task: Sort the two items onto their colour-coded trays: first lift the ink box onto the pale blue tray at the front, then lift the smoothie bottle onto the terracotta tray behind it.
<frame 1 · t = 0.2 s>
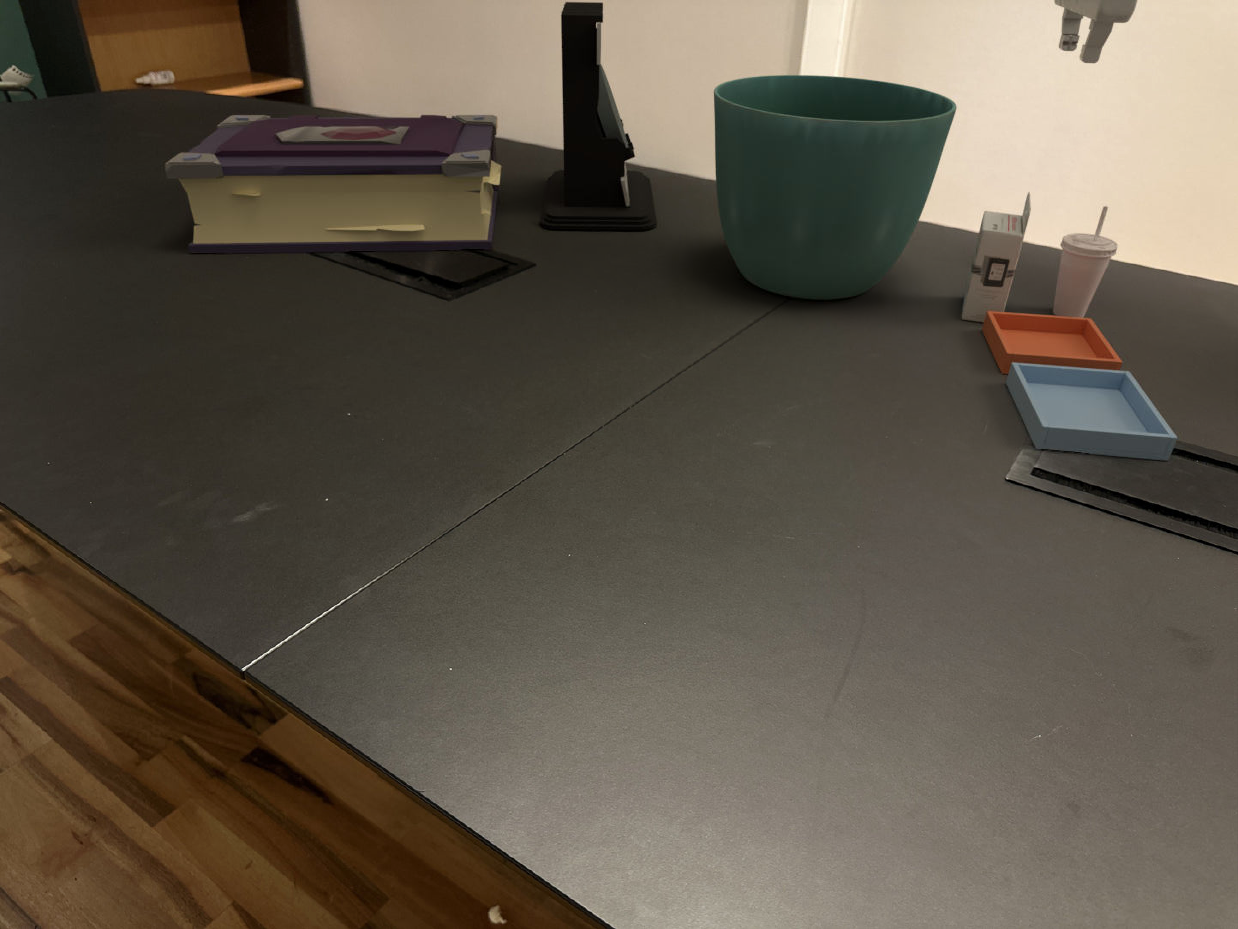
hand: (1076, 56, 108), 29 cm above the table, tool pointing down, fingers open, 8 cm apart
flower pot: (808, 278, 126), on the table
blue tray: (1081, 419, 93), on the table
smoothie: (1067, 315, 116), on the table
ink box: (981, 312, 117), on the table
award: (598, 204, 155), on the table
terracotta tray: (1044, 355, 106), on the table
book: (362, 219, 146), on the table
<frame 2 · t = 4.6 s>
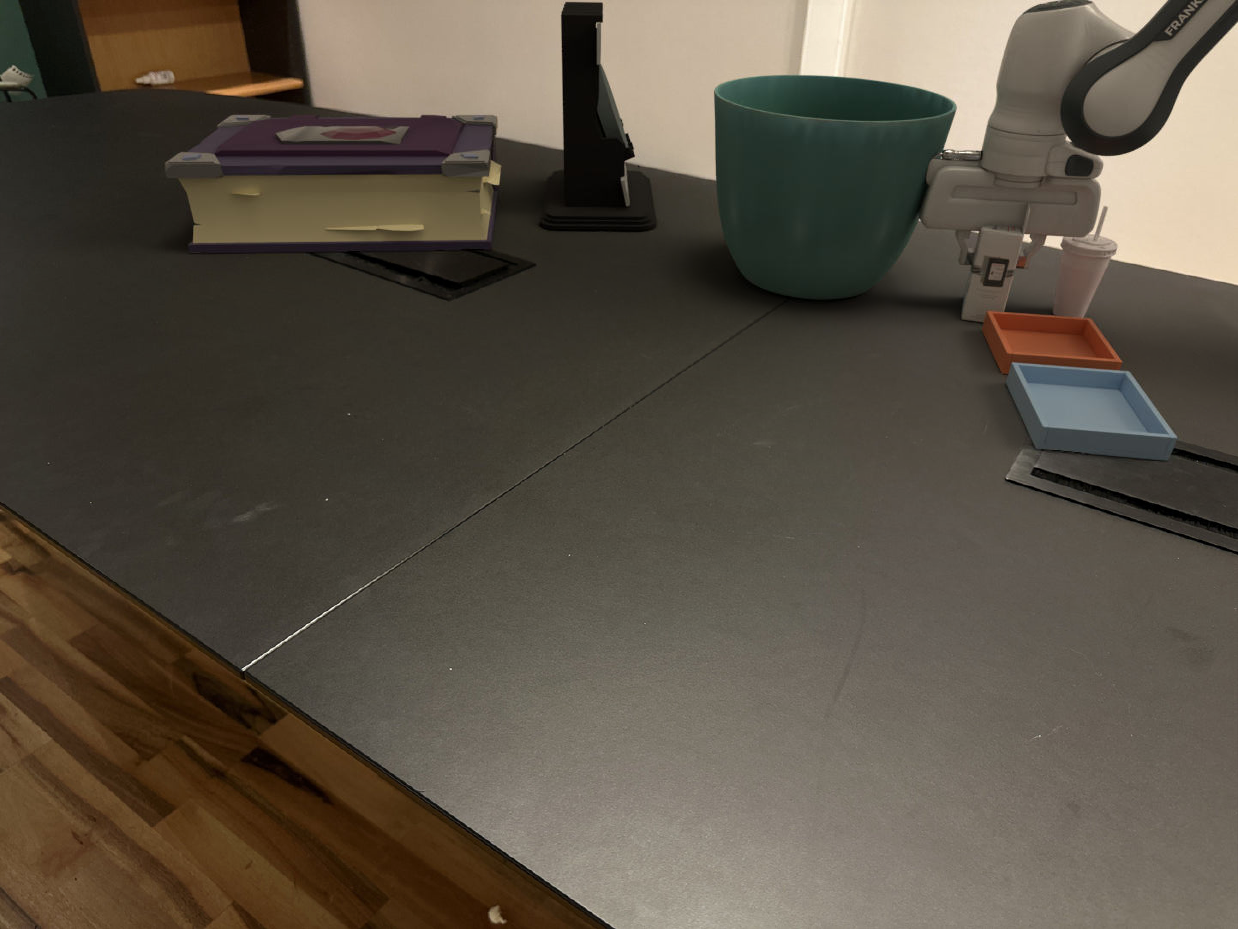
hand: (992, 265, 113), 6 cm above the table, tool pointing down, fingers closed on ink box, 5 cm apart
ink box: (980, 312, 117), on the table, touching gripper
everything else where it was.
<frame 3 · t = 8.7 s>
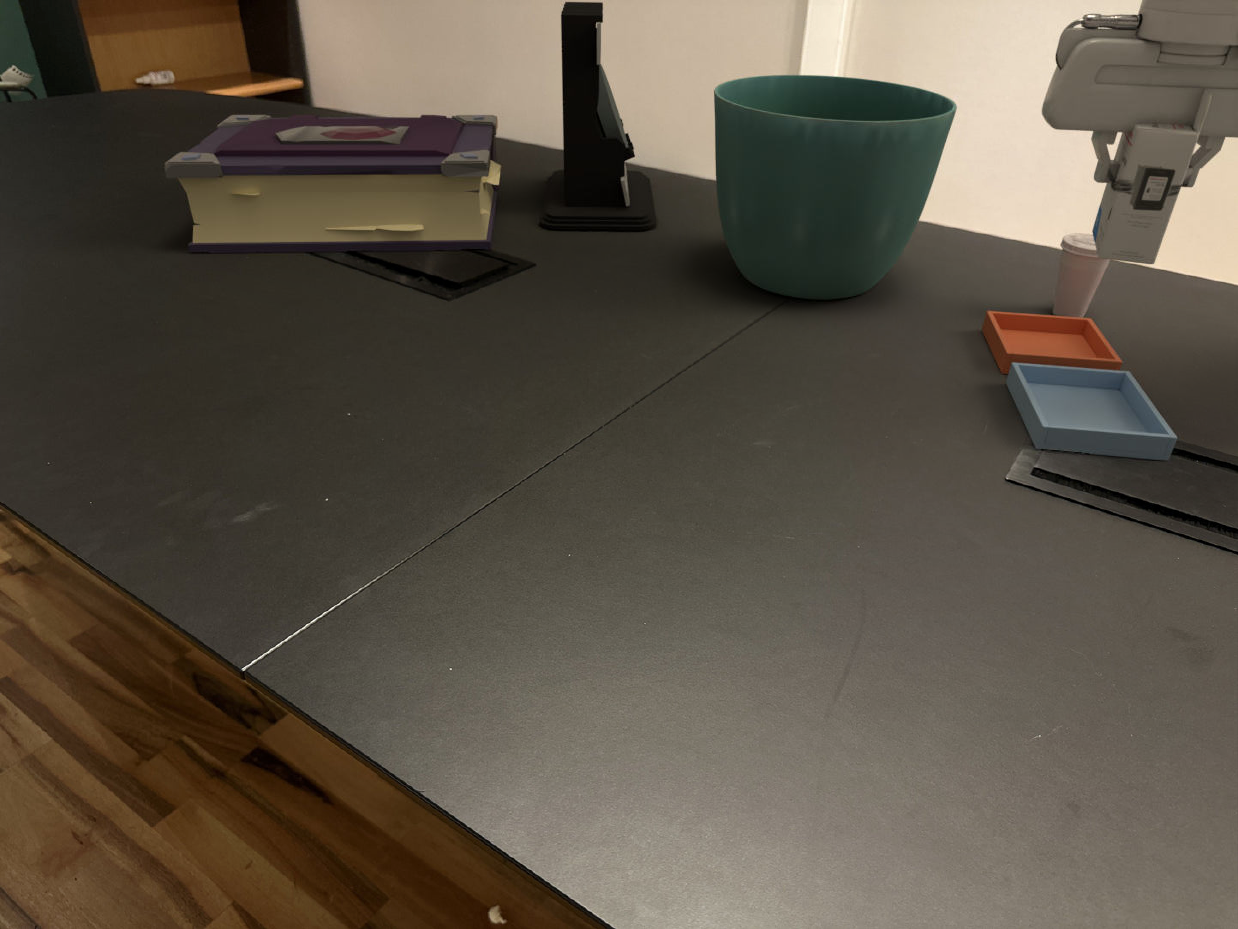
hand: (1142, 183, 83), 23 cm above the table, tool pointing down, fingers closed on ink box, 5 cm apart
ink box: (1120, 250, 86), point 17 cm above the table, touching gripper
everything else where it was.
when the fingers open (7 cm above the table, at t = 13.1 s): ink box stays where it is, resting on blue tray.
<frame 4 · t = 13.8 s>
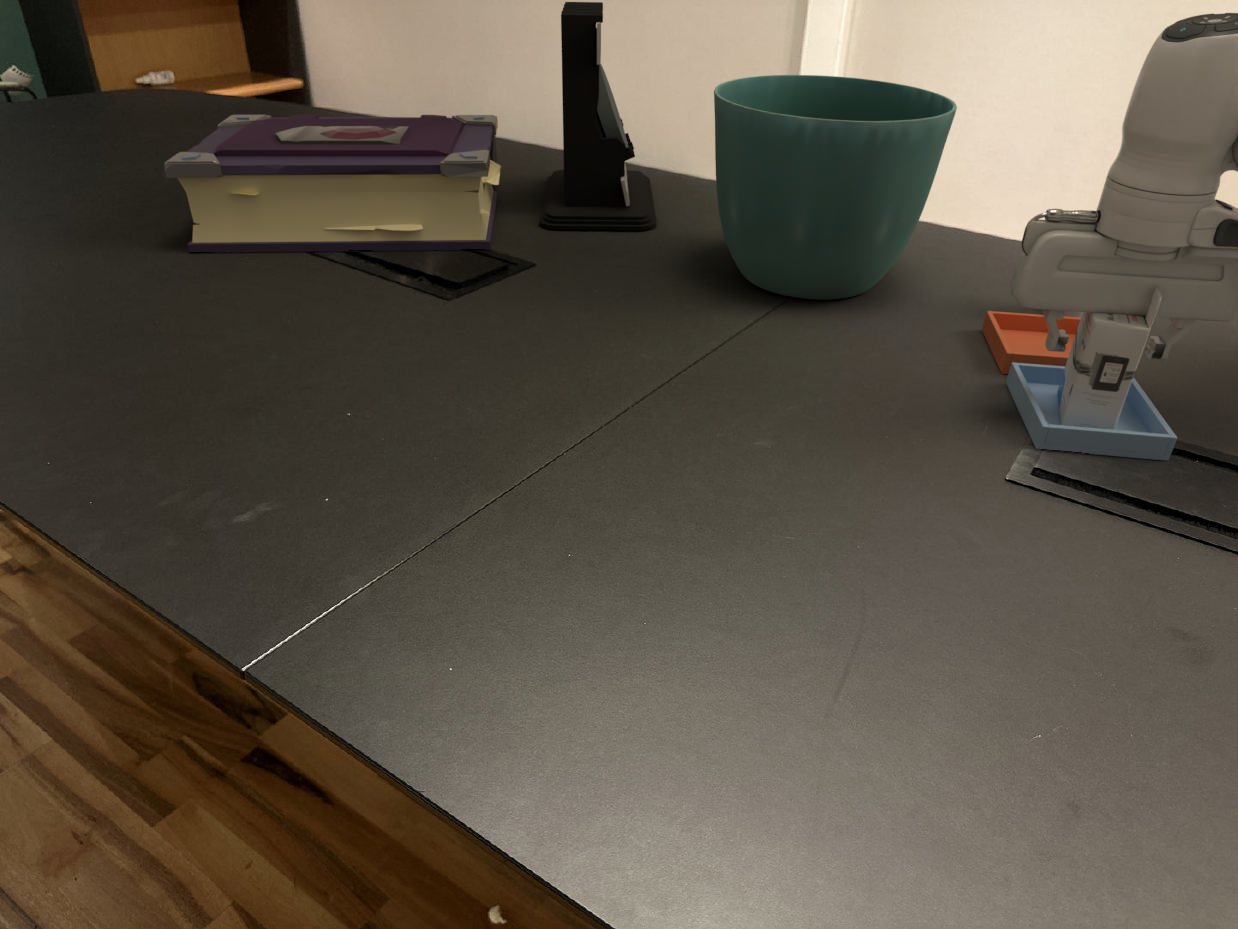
hand: (1104, 352, 89), 8 cm above the table, tool pointing down, fingers open, 8 cm apart
ink box: (1082, 416, 93), resting on blue tray
everything else where it was.
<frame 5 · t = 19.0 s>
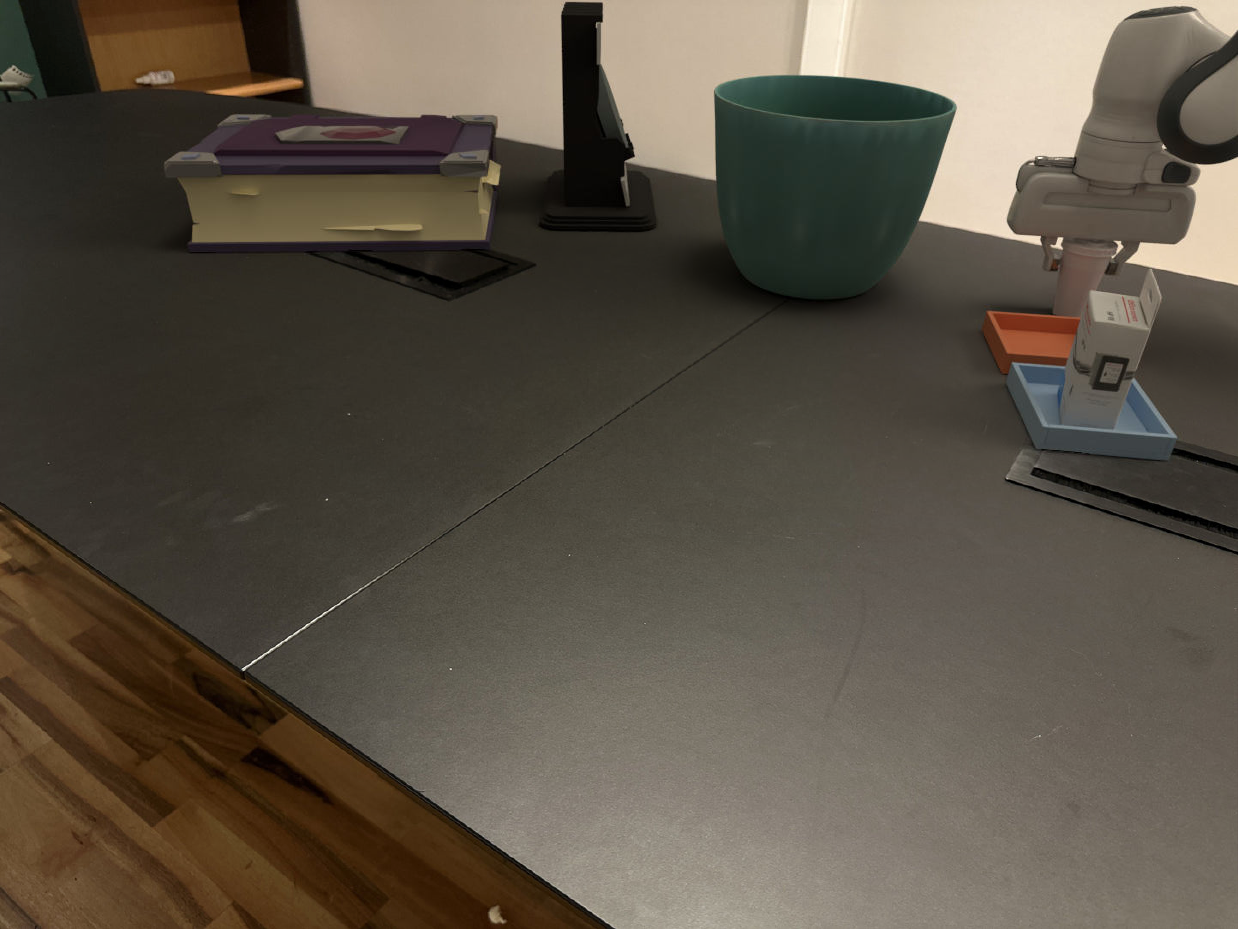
hand: (1080, 272, 113), 6 cm above the table, tool pointing down, fingers closed on smoothie, 6 cm apart
smoothie: (1067, 315, 116), on the table, touching gripper
everything else where it was.
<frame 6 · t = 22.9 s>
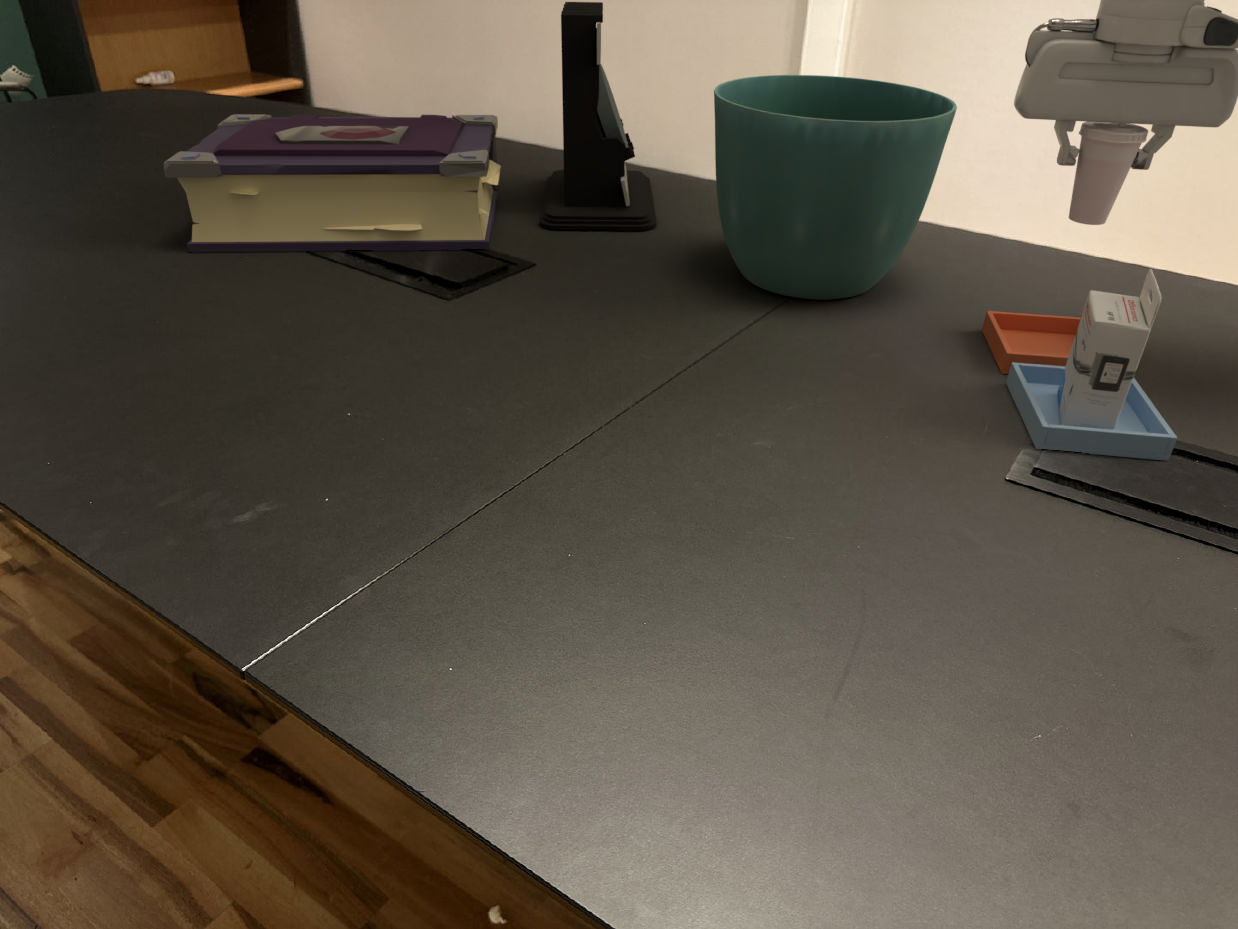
hand: (1102, 166, 95), 22 cm above the table, tool pointing down, fingers closed on smoothie, 6 cm apart
smoothie: (1086, 221, 98), point 16 cm above the table, touching gripper
everything else where it was.
when the fingers open (6 cm above the table, at t = 26.8 s): smoothie stays where it is, resting on terracotta tray.
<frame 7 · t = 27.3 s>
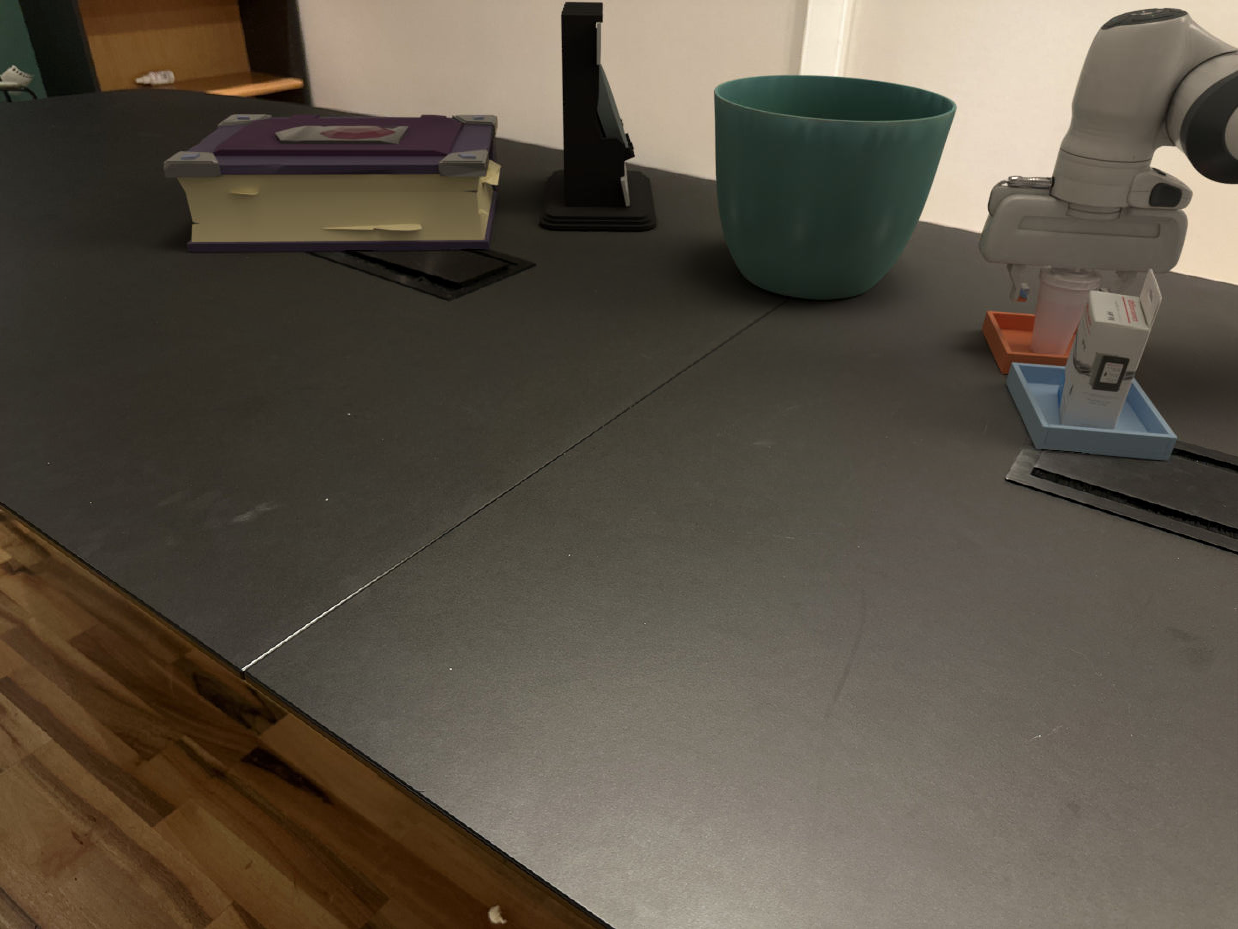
hand: (1060, 303, 102), 7 cm above the table, tool pointing down, fingers open, 8 cm apart
smoothie: (1046, 352, 106), resting on terracotta tray
everything else where it was.
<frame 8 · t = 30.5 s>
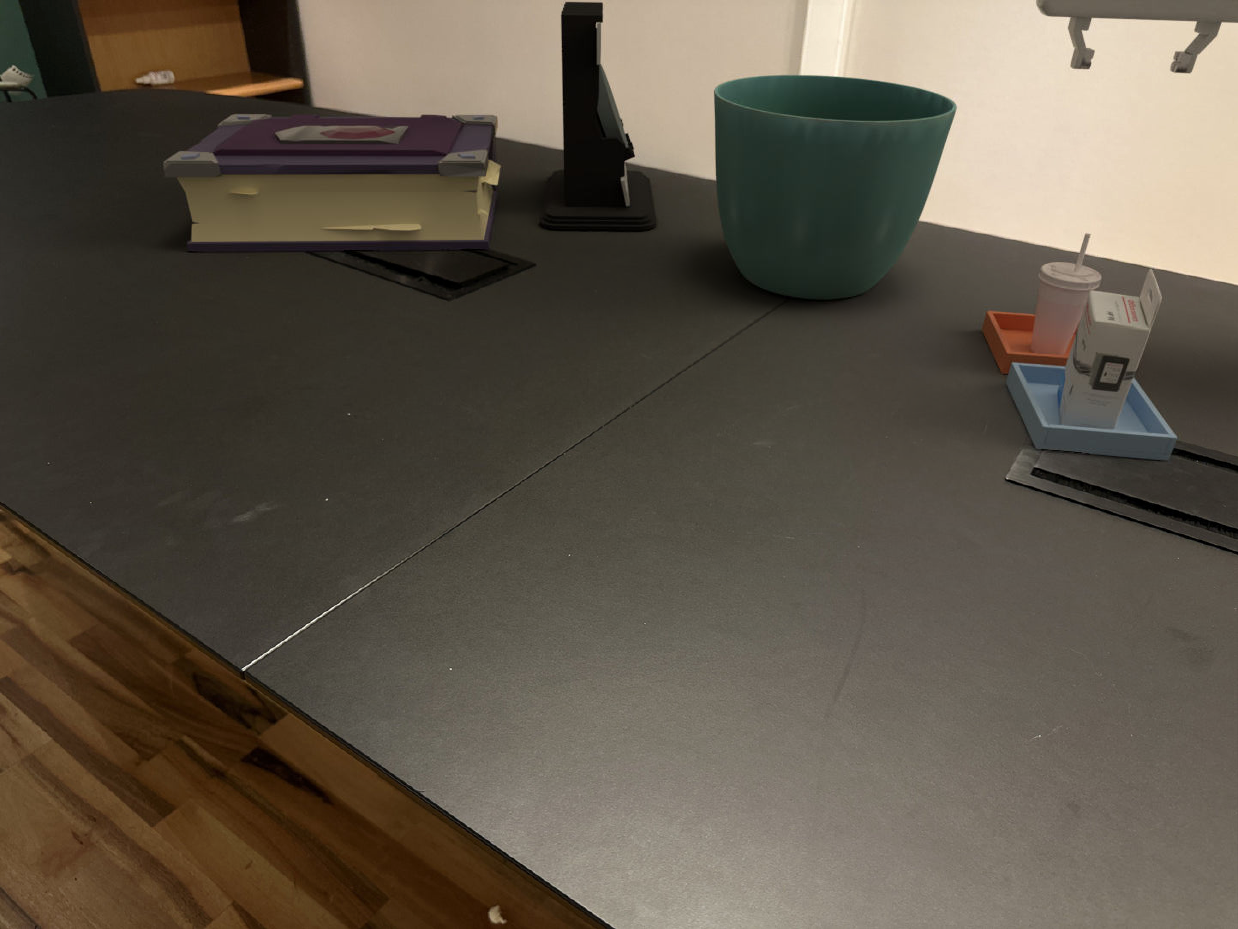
hand: (1129, 70, 89), 31 cm above the table, tool pointing down, fingers open, 8 cm apart
nothing on the table moved.
at the end: ink box inside the target area in the blue tray (0.0 cm from its centre), point 0.4 cm above the blue tray's base; smoothie inside the target area in the terracotta tray (0.1 cm from its centre), point 0.4 cm above the terracotta tray's base; smoothie tilted 0° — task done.
